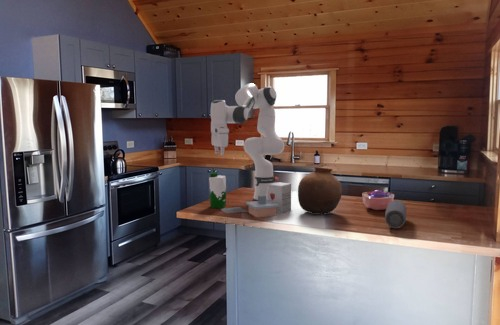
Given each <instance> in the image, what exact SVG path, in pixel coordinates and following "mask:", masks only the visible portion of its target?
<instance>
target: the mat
mask: <svg viewBox="0 0 500 325" xmlns="http://www.w3.org/2000/svg"><path fill="white" fill-rule="evenodd" d="M219 209H220V210H221V211H222V212H223V213H225V214H236V213H237V214H238V213H245V212H246V213H247V211H248V210H246V209H244V208H243V207H242V206H234V207H223V208H219Z"/></svg>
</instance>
